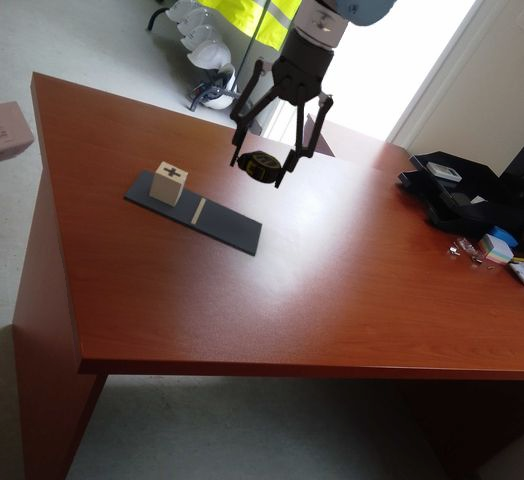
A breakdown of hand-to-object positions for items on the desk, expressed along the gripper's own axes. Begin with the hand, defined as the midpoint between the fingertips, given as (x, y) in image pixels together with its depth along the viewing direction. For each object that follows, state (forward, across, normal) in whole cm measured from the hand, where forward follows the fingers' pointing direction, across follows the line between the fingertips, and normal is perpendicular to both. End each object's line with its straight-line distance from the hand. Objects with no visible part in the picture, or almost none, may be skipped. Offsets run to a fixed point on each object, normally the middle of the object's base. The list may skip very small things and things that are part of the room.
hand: (254, 174), depth 83 cm
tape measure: (0, 0, 0) cm, 0 cm away
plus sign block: (+12, -14, 0) cm, 18 cm away
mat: (+12, -7, 0) cm, 14 cm away
